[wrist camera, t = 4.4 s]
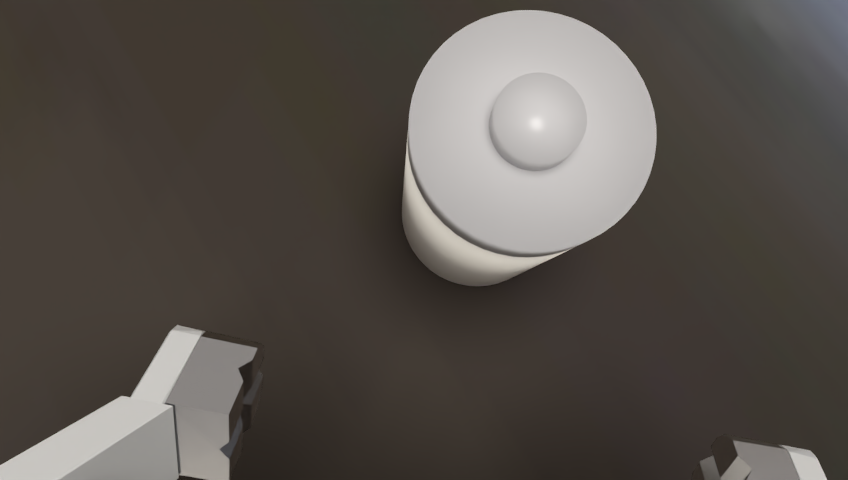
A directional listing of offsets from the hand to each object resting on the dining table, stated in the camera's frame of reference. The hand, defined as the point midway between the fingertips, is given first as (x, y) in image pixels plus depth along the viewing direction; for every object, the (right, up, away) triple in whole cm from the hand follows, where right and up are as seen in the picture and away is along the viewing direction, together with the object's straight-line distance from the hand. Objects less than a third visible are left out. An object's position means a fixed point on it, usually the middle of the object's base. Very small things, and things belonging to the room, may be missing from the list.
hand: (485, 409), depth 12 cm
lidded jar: (+1, +4, +10) cm, 11 cm away
